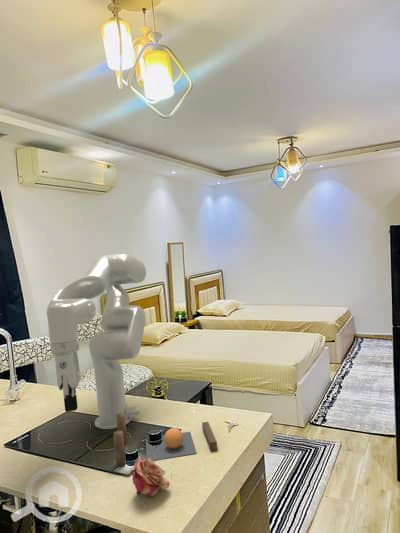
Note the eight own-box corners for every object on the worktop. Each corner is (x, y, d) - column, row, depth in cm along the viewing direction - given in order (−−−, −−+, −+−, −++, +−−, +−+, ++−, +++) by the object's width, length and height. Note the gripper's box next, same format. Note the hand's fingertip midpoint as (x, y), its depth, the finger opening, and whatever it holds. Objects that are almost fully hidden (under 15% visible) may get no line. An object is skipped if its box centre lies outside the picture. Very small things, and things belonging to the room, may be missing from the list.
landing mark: (190, 432, 125) (190, 431, 125) (196, 453, 111) (196, 453, 111) (145, 438, 123) (145, 438, 123) (146, 461, 109) (146, 461, 109)
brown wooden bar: (208, 429, 126) (208, 421, 126) (217, 450, 112) (216, 441, 112) (202, 430, 125) (201, 422, 125) (210, 451, 112) (209, 442, 111)
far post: (127, 440, 122) (124, 412, 122) (127, 444, 120) (124, 415, 120) (118, 442, 122) (116, 413, 122) (118, 446, 120) (115, 416, 119)
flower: (123, 503, 88) (142, 474, 88) (120, 474, 97) (136, 447, 97) (159, 514, 92) (177, 486, 91) (153, 486, 100) (169, 460, 100)
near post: (126, 461, 110) (123, 430, 110) (125, 466, 107) (122, 434, 107) (116, 463, 110) (113, 431, 109) (116, 468, 107) (113, 435, 107)
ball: (180, 423, 119) (162, 427, 118) (182, 430, 113) (162, 434, 112) (184, 442, 118) (165, 446, 118) (185, 449, 113) (166, 454, 112)
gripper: (74, 351, 105) (81, 418, 106) (82, 339, 120) (88, 398, 120) (44, 355, 104) (52, 423, 105) (56, 342, 118) (62, 402, 119)
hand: (71, 409), depth 113 cm, fingers closed
